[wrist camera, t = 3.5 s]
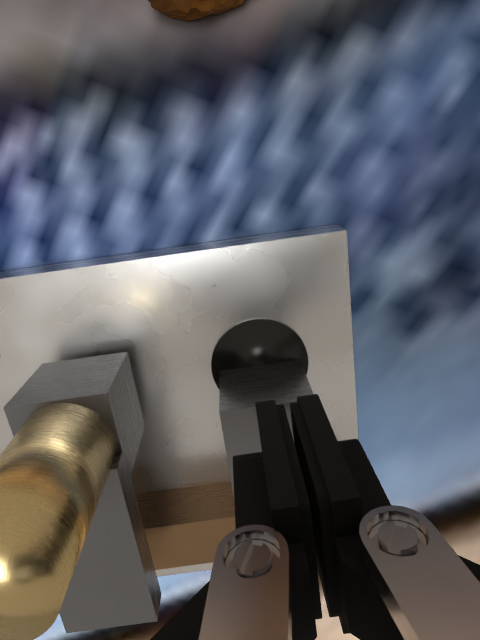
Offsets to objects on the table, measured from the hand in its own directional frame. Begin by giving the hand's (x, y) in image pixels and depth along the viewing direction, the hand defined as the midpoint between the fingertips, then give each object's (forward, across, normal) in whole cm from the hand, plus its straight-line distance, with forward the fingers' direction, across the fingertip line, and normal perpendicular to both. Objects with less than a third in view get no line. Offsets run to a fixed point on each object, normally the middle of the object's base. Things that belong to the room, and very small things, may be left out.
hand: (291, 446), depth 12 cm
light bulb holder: (+5, +6, +2) cm, 8 cm away
